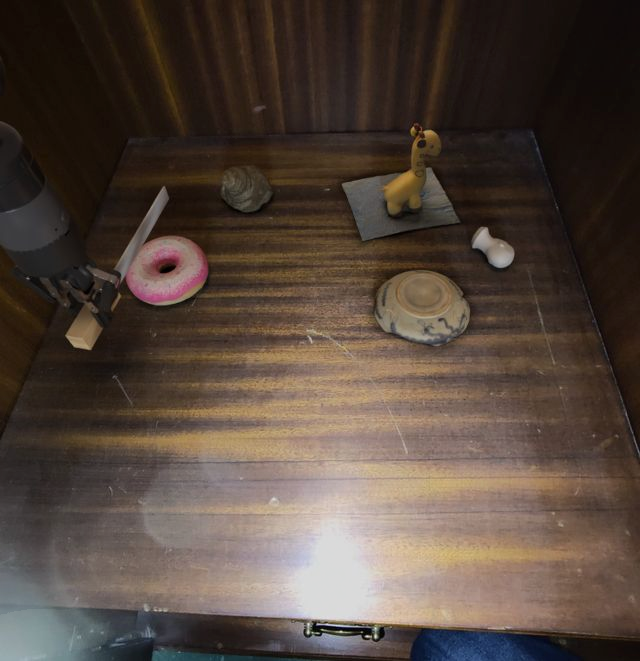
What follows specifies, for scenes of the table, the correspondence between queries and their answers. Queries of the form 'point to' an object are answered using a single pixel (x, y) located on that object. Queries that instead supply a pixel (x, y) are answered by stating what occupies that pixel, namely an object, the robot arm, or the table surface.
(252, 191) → the seashell
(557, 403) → the table surface
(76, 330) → the knife
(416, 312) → the decorative bowl
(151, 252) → the donut
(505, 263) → the smooth white sculpture
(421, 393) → the table surface
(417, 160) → the stuffed giraffe
